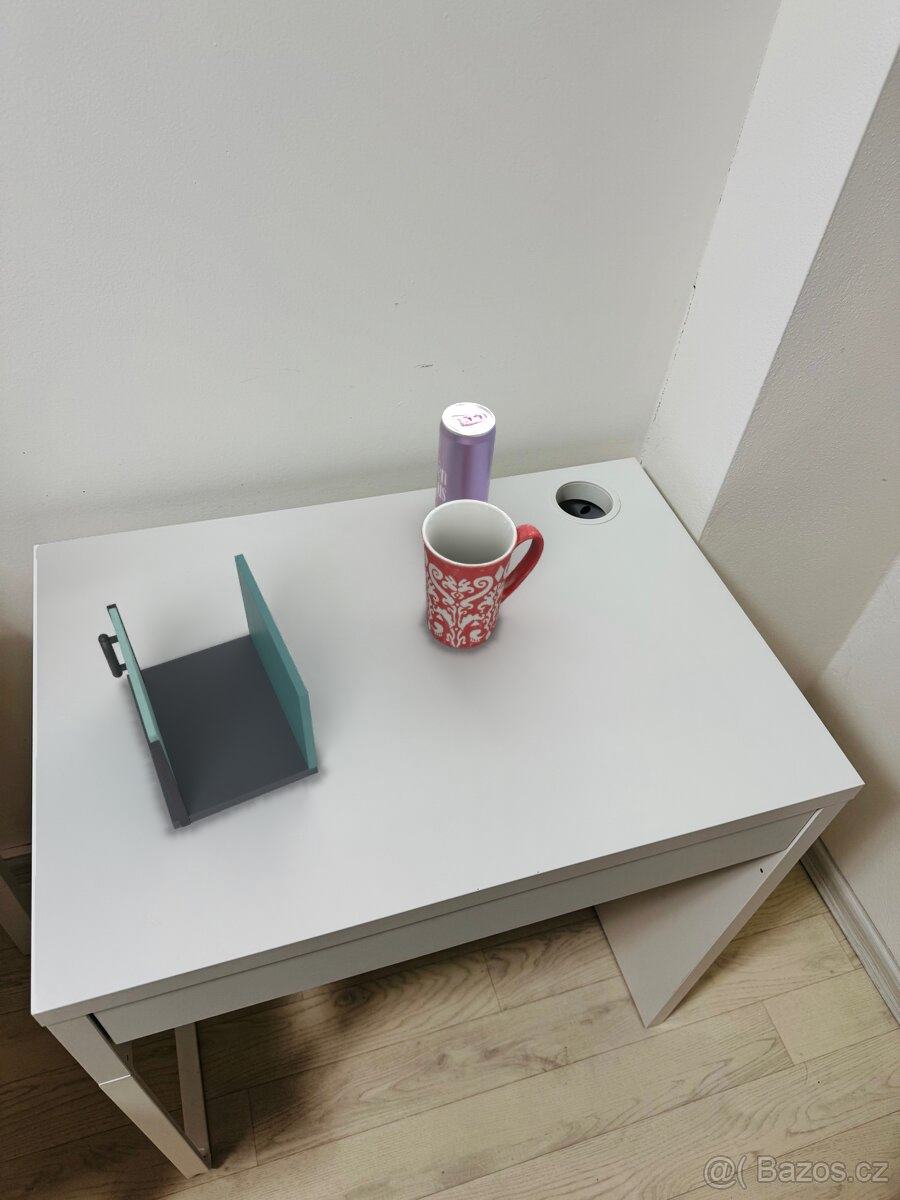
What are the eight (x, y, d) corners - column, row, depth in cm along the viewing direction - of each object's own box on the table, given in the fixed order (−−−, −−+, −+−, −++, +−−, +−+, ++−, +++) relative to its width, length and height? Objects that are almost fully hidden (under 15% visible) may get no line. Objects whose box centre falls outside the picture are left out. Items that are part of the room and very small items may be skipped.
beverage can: (492, 533, 98) (506, 429, 86) (445, 545, 96) (452, 440, 85) (473, 501, 101) (483, 396, 90) (427, 511, 100) (431, 406, 88)
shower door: (156, 813, 71) (126, 745, 63) (118, 686, 79) (87, 611, 71) (184, 803, 72) (157, 733, 64) (143, 678, 80) (115, 602, 72)
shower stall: (175, 830, 71) (142, 754, 62) (129, 682, 81) (95, 596, 72) (318, 773, 76) (308, 694, 66) (258, 638, 86) (242, 553, 76)
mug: (433, 665, 85) (440, 574, 74) (406, 601, 90) (409, 508, 80) (547, 637, 88) (568, 546, 78) (514, 576, 93) (530, 484, 83)
